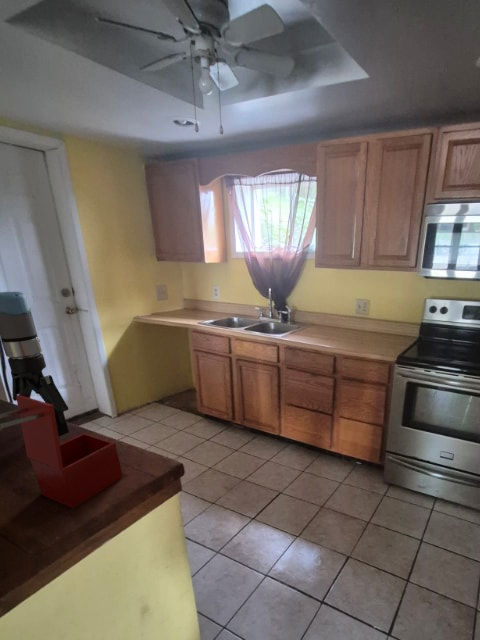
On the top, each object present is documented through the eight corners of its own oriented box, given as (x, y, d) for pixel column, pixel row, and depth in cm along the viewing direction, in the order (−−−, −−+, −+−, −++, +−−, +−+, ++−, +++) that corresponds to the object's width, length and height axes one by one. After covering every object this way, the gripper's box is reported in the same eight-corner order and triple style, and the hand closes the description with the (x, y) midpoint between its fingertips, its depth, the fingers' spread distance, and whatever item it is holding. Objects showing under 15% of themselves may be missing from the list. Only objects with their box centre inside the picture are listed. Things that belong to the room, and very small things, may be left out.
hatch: (20, 395, 73) (-41, 408, 64) (53, 404, 69) (-7, 420, 60) (31, 455, 77) (-25, 475, 68) (63, 468, 73) (7, 491, 64)
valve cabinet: (93, 467, 91) (84, 432, 87) (123, 478, 87) (115, 442, 83) (42, 496, 81) (29, 458, 77) (73, 510, 77) (61, 470, 73)
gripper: (70, 357, 92) (90, 432, 101) (12, 346, 102) (34, 415, 111) (40, 365, 86) (63, 444, 95) (-19, 353, 96) (6, 425, 105)
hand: (47, 429), depth 103 cm, fingers open, 13 cm apart
